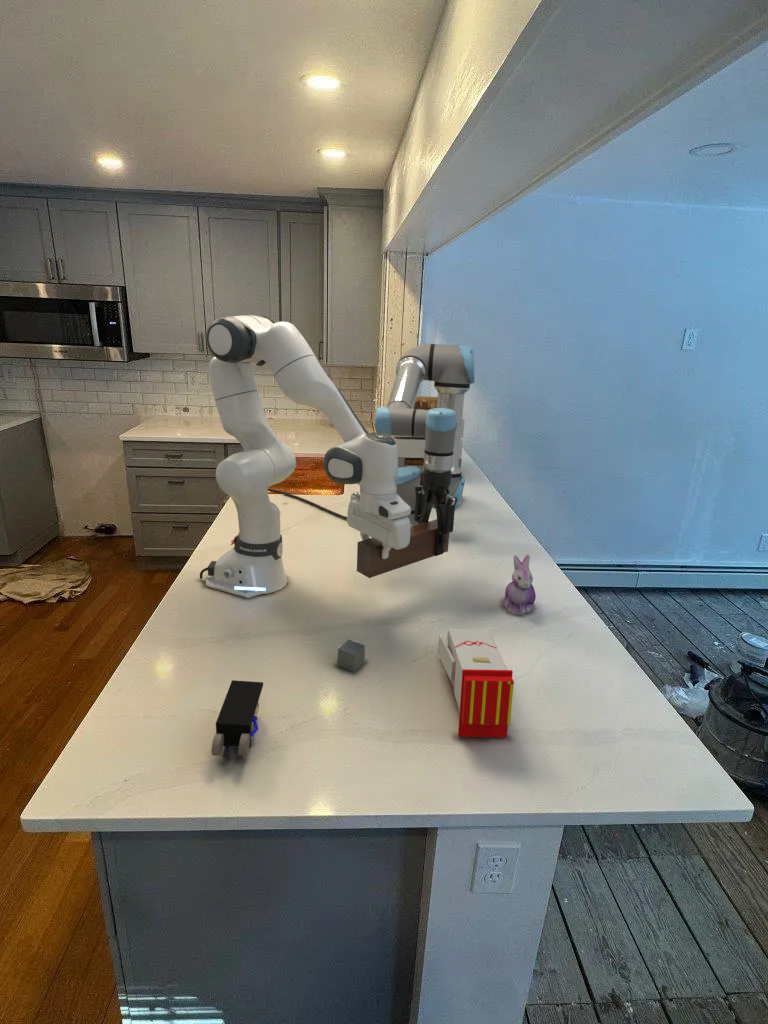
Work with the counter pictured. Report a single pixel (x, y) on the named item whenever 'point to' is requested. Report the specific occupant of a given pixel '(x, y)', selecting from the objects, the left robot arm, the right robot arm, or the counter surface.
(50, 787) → the counter surface
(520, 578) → the figurine
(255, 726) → the black wheeled block
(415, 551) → the walnut plank
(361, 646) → the slate block
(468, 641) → the toy
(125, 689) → the counter surface
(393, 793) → the counter surface
